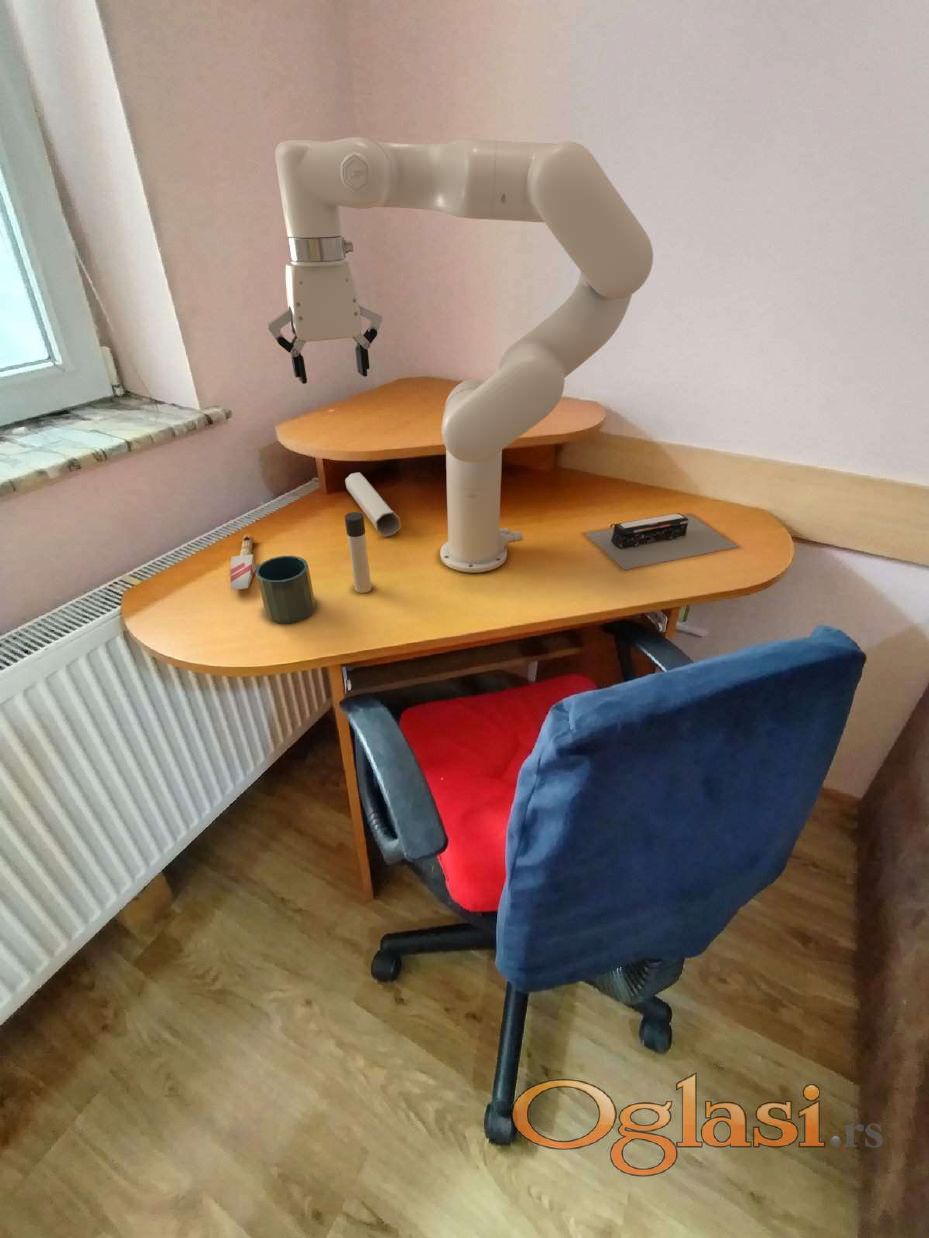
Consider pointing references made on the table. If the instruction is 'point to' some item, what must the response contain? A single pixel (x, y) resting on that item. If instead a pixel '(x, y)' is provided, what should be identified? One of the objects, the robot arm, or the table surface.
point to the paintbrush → (243, 565)
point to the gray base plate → (658, 540)
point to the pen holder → (286, 589)
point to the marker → (358, 551)
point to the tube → (373, 505)
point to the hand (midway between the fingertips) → (333, 378)
